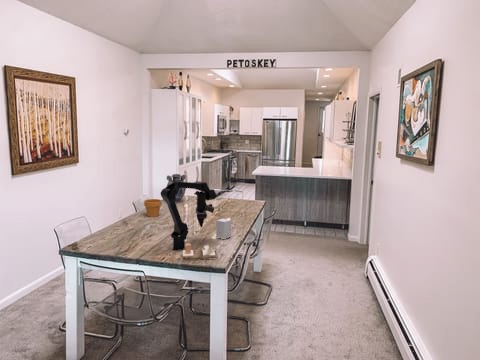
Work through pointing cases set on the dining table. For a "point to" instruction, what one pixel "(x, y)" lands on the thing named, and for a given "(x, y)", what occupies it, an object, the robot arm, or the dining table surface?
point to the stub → (187, 251)
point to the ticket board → (202, 254)
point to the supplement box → (223, 228)
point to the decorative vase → (182, 190)
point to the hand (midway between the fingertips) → (200, 225)
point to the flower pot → (152, 207)
